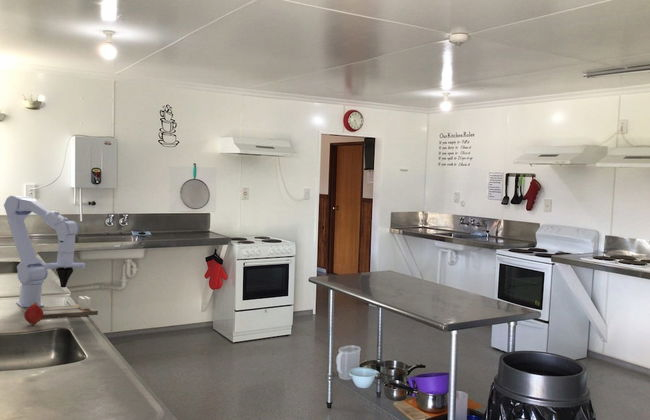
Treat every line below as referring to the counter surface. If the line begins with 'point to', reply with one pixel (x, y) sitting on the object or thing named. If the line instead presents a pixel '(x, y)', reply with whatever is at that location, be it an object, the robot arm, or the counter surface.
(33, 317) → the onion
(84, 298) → the fader knob
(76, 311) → the fader console
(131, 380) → the counter surface
